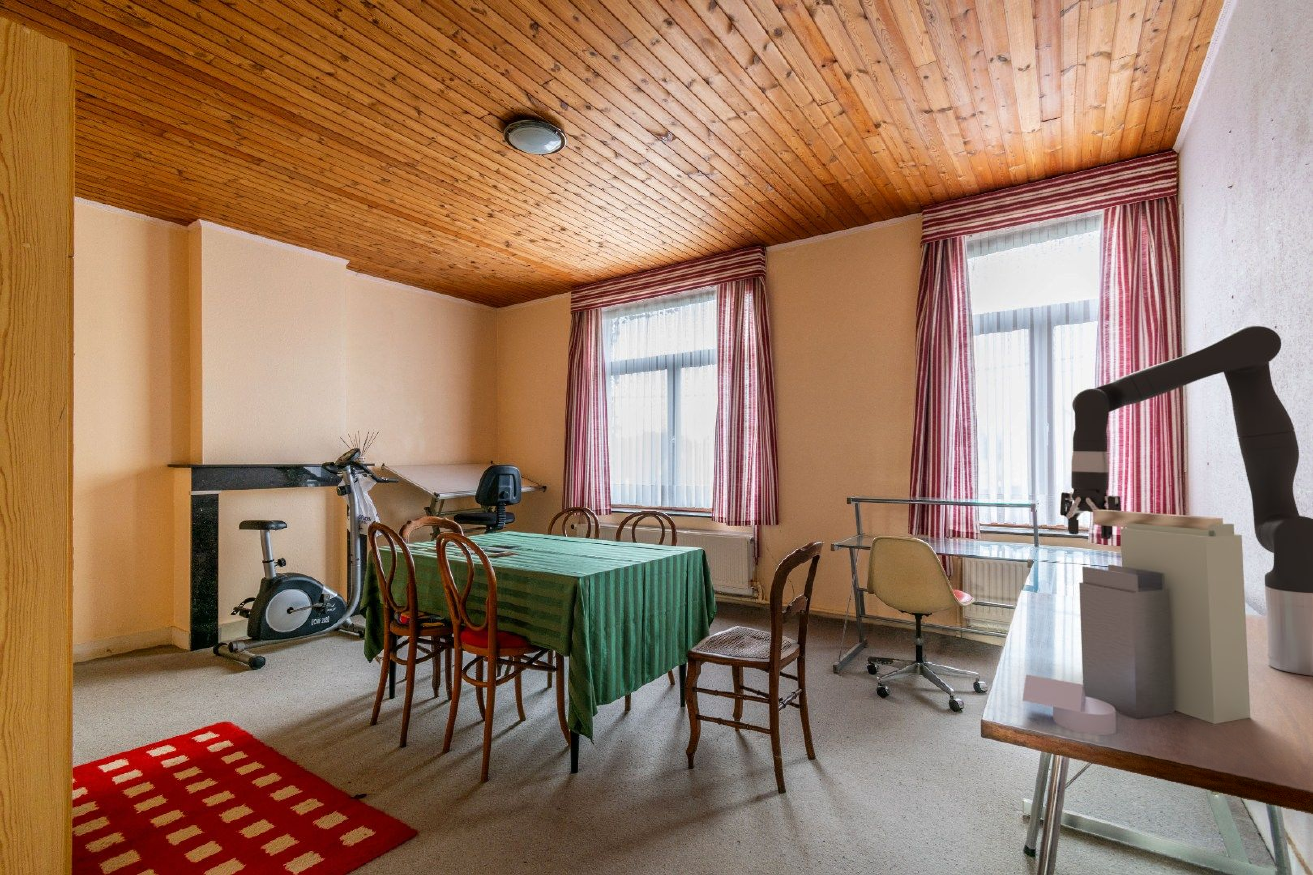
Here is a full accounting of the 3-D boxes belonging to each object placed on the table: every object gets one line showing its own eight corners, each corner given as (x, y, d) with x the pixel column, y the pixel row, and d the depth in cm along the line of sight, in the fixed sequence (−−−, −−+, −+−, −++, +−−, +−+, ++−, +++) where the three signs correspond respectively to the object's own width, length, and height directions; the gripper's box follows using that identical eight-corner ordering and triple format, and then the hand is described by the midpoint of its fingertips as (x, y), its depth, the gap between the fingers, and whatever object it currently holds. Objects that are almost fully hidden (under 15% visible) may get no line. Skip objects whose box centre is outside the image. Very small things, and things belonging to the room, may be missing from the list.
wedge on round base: (1023, 719, 110) (1114, 739, 102) (1021, 681, 111) (1112, 697, 102) (1031, 704, 117) (1117, 721, 109) (1030, 667, 118) (1116, 682, 109)
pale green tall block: (1126, 693, 122) (1119, 518, 124) (1160, 688, 125) (1153, 516, 126) (1214, 723, 108) (1205, 525, 109) (1250, 717, 110) (1241, 523, 112)
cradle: (1083, 698, 120) (1078, 566, 121) (1118, 693, 122) (1113, 564, 123) (1136, 719, 110) (1131, 575, 111) (1173, 712, 113) (1168, 572, 114)
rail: (1093, 524, 132) (1092, 510, 132) (1104, 523, 133) (1103, 509, 133) (1211, 535, 111) (1210, 518, 111) (1223, 534, 112) (1222, 518, 112)
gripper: (1130, 471, 148) (1129, 540, 147) (1075, 469, 162) (1075, 532, 161) (1105, 471, 146) (1104, 540, 146) (1052, 469, 160) (1051, 532, 159)
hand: (1089, 536), depth 153 cm, fingers open, 8 cm apart
